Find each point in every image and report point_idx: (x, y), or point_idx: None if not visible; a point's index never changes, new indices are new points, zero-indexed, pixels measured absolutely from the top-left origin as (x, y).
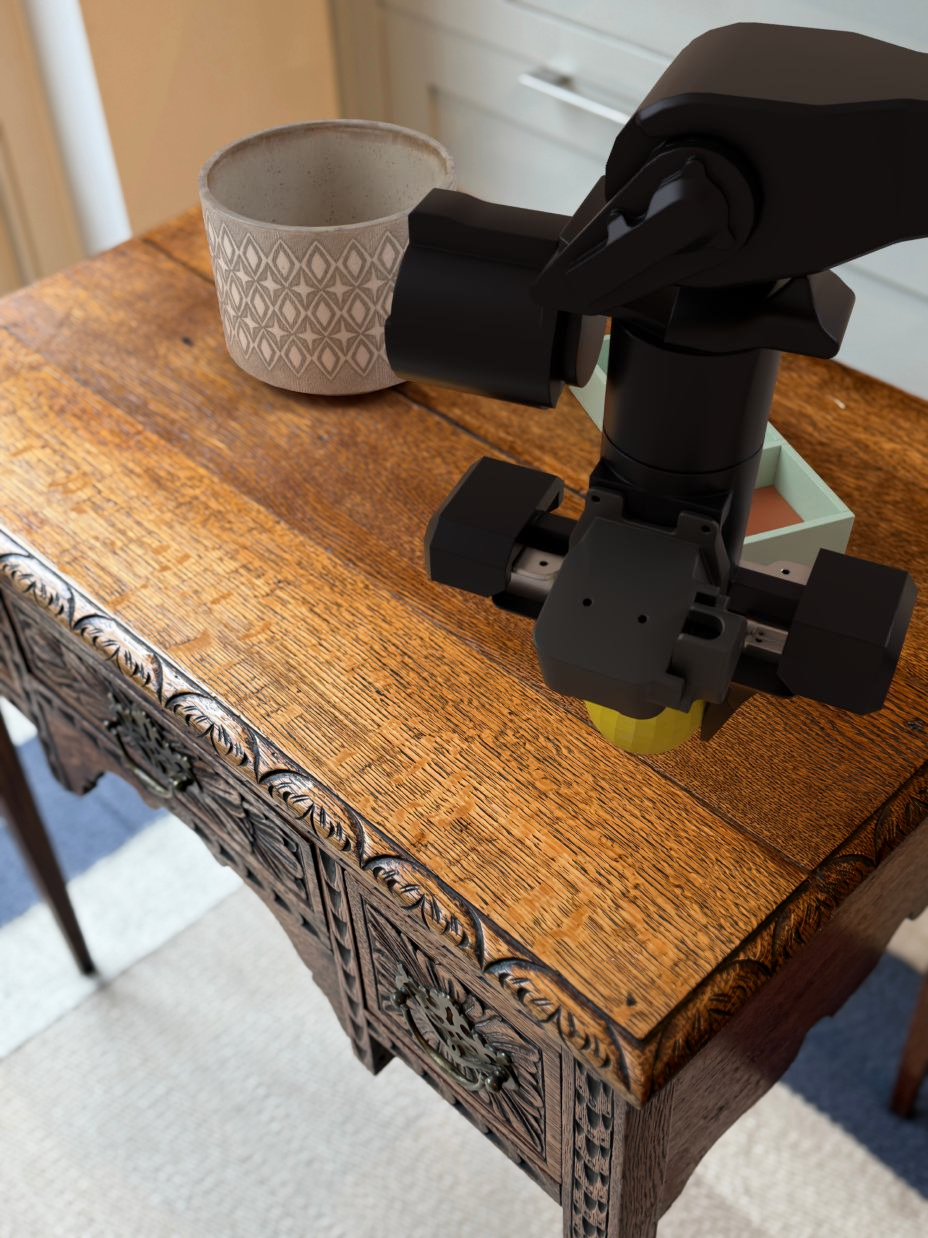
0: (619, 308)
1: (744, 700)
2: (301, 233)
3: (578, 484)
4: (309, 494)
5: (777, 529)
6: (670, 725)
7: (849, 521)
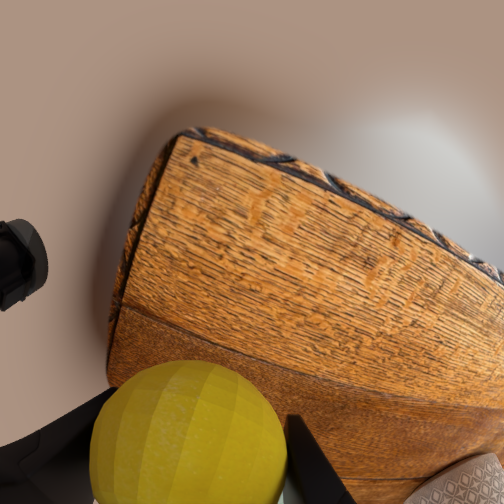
0: None
1: (14, 443)
2: None
3: None
4: (472, 424)
5: None
6: (108, 410)
7: None
